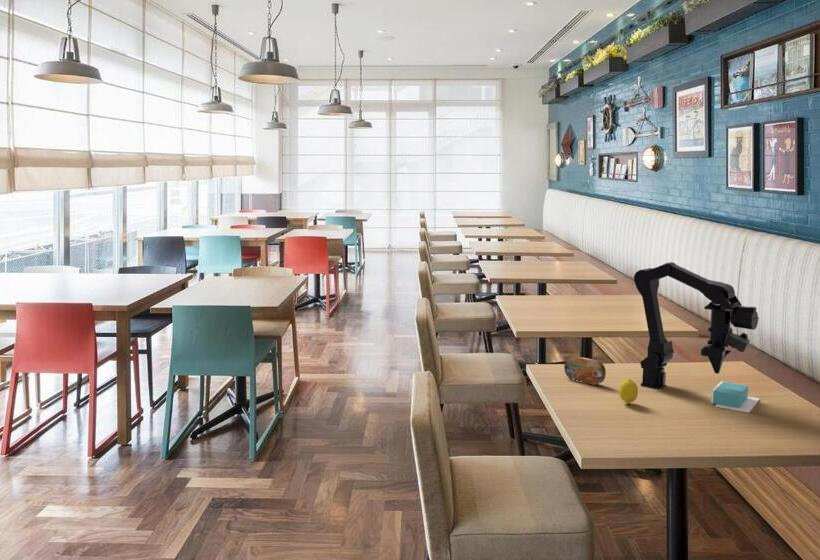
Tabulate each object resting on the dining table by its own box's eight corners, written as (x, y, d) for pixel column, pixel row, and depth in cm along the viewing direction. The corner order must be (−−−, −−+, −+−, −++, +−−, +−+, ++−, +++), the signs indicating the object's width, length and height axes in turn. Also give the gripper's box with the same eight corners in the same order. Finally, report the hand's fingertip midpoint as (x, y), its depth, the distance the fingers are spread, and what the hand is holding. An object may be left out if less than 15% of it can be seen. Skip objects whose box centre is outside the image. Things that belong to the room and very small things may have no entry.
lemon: (638, 402, 223) (639, 377, 222) (635, 407, 218) (637, 382, 217) (620, 400, 225) (621, 375, 224) (617, 405, 220) (618, 380, 219)
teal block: (712, 390, 221) (739, 395, 216) (721, 381, 230) (748, 385, 226) (711, 402, 221) (738, 408, 217) (720, 393, 231) (747, 397, 226)
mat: (715, 406, 219) (715, 405, 219) (727, 394, 231) (727, 393, 231) (749, 412, 214) (749, 411, 214) (759, 399, 226) (759, 398, 226)
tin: (563, 378, 249) (564, 354, 248) (568, 376, 251) (569, 353, 250) (601, 387, 238) (602, 363, 237) (606, 385, 240) (607, 361, 239)
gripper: (741, 333, 211) (737, 385, 213) (754, 322, 225) (751, 370, 228) (701, 328, 217) (698, 378, 219) (717, 318, 232) (714, 365, 234)
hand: (717, 373), depth 225 cm, fingers closed
